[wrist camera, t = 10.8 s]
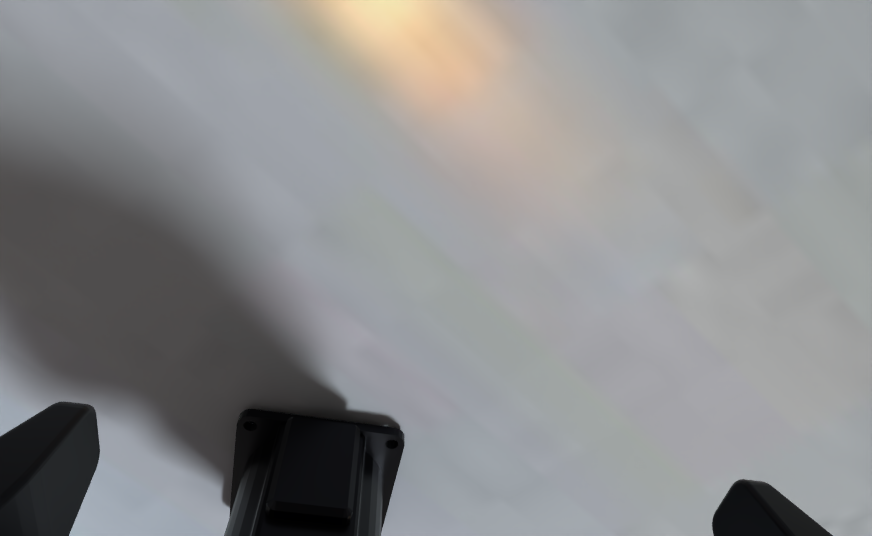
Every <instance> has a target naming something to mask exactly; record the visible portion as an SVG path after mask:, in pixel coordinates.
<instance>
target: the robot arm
mask: <svg viewBox="0 0 872 536" xmlns="http://www.w3.org/2000/svg"><path fill="white" fill-rule="evenodd" d="M248 421H252V422H255V423H249V422H248ZM388 440H396V441H388ZM403 449H404V434H403V432H402V431H401V430H399V429H397V428H392V427H385V426H377V425H369V424H362V423H354V422H347V421H339V420H332V419H324V418H317V417H309V416H302V415H294V414H287V413H279V412H272V411H264V410H257V409H247V410H244V411H243V412H242V413H241V414H240V417H239V420H238V423H237V430H236V443H235V456H234V468H233V481H232V494H231V506H230V518H229V522H228V525H227V528H226V531H225V535H224V536H381V531H382V527H383V524H384V520H385V516H386V512H387V509H388V505H389V501H390V497H391V494H392V490H393V486H394V482H395V479H396V475H397V471H398V467H399V464H400V460H401V456H402V452H403ZM99 454H100V447H99V437H98V428H97V418H96V412H95V409H94V408H93V407H92V406H91V405H89V404H81V403H72V402H58V403H55V404H53V405H51V406H50V407H48V408H46V409H45V410H43V411H41V412H40V413H38V414H36V415H35V416H33V417H31V418H30V419H28V420H27V421H25V422H23V423H22V424H20V425H18V426H17V427H15V428H13V429H12V430H10V431H9V432H7V433H5V434H4V435H2V436H0V536H69V534H70V531H71V529H72V526H73V524H74V521H75V519H76V517H77V514H78V512H79V509H80V507H81V504H82V502H83V499H84V497H85V495H86V492H87V490H88V487H89V485H90V482H91V480H92V477H93V475H94V473H95V470H96V467H97V464H98V460H99ZM712 527H713V534H714V536H833V535H831V534H830V533H829V532H828V531H826V530H825V529H824V528H823V527H821V526H820V525H819V524H818V523H817V522H815V521H814V520H813V519H812V518H810V517H809V516H808V515H807V514H805V513H804V512H803V511H802V510H801V509H799V508H798V507H797V506H796V505H794V504H793V503H792V502H791V501H789V500H788V499H787V498H786V497H785V496H783V495H782V494H781V493H780V492H778V491H777V490H776V489H775V488H773V487H772V486H771V485H769V484H768V483H765V482H762V481H753V480H745V479H741V480H738V481H736V482H735V483H734V484H733V485H732V486H731V488H730V490H729V491H728V493H727V494H726V496H725V497H724V499H723V501H722V502H721V504H720V505H719V507H718V509H717V510H716V512H715V514H714V516H713V522H712Z"/></svg>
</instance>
